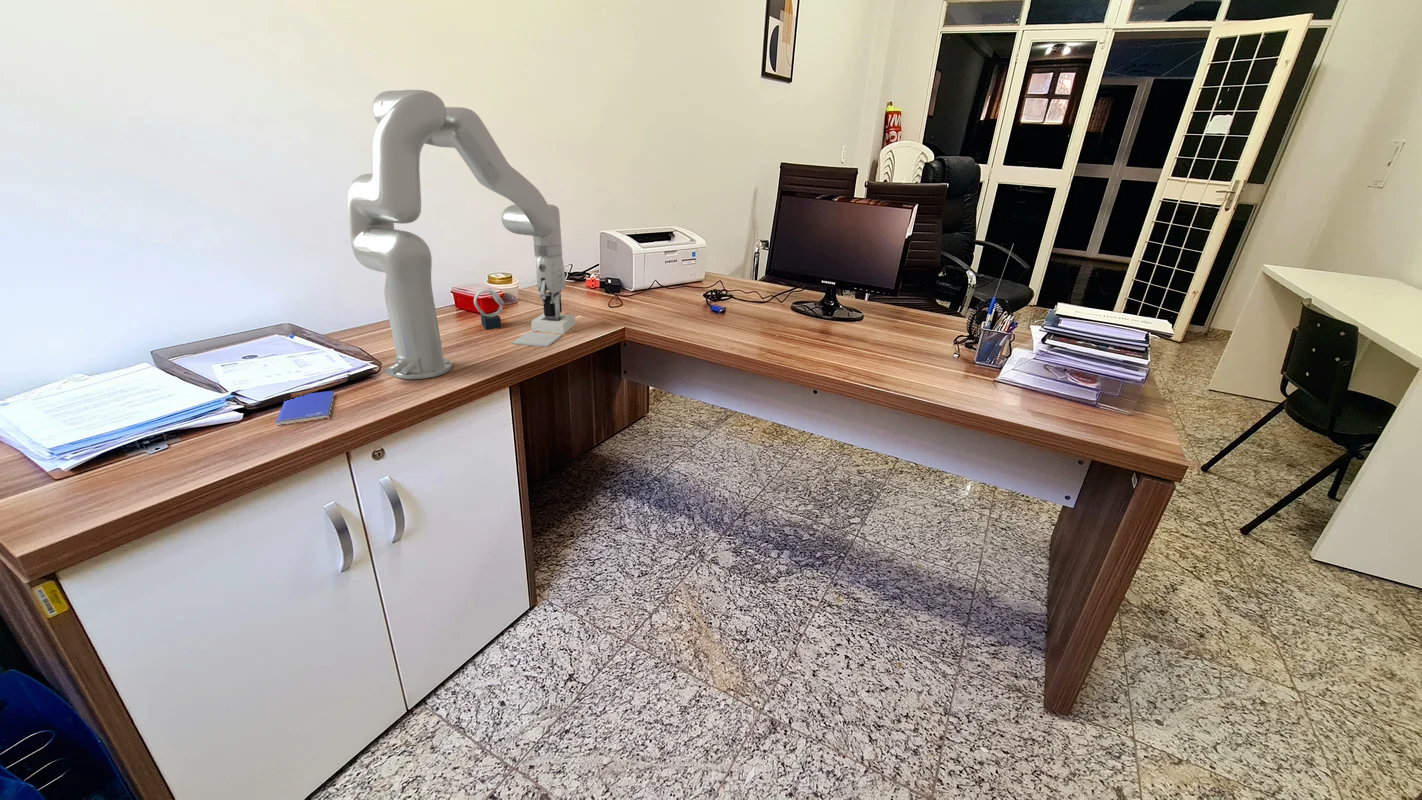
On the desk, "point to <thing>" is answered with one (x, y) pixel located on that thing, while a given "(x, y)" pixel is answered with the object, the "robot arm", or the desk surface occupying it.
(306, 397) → the blue book
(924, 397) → the desk surface
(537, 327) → the grey square socket block
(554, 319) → the peg
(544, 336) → the mat
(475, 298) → the grey ring on block
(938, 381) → the desk surface
